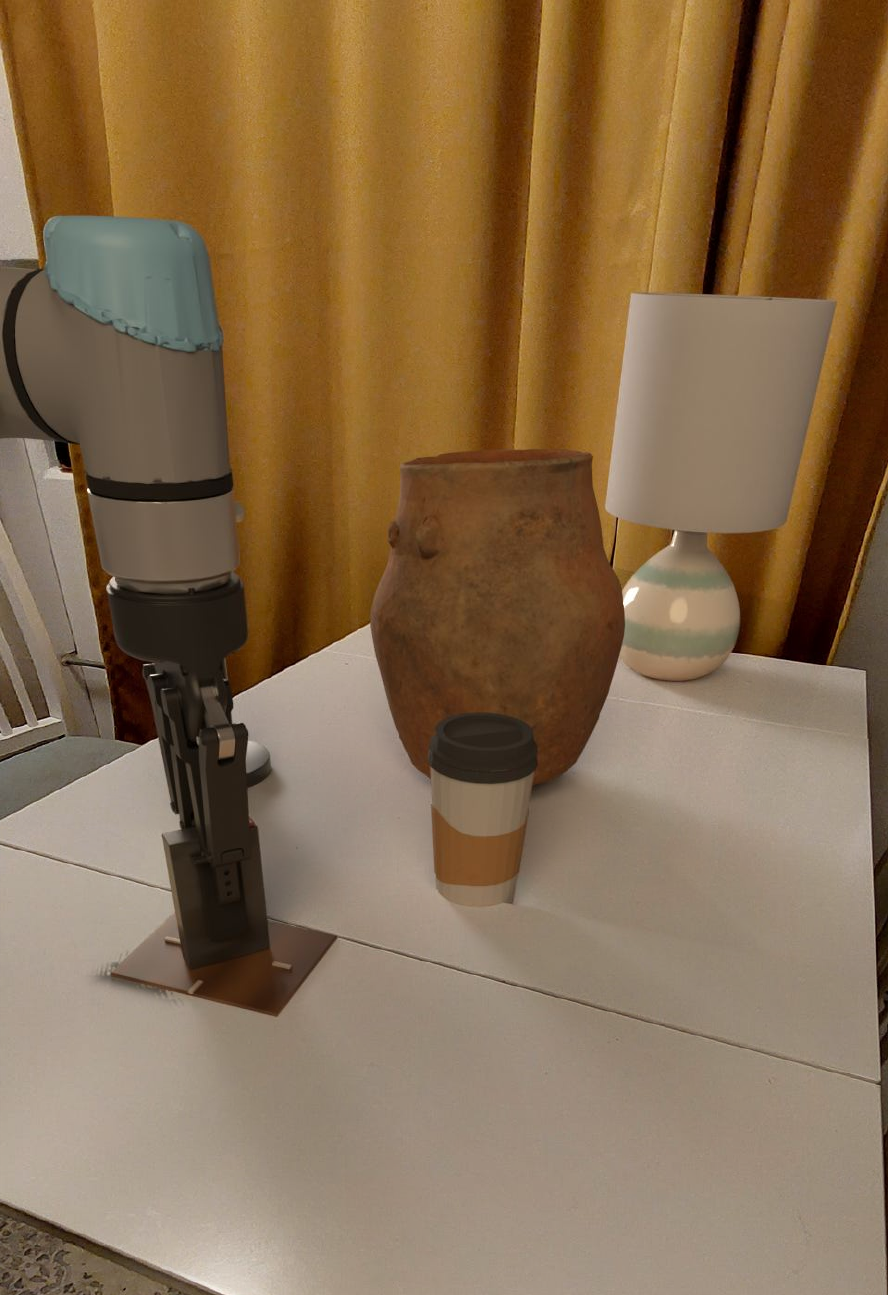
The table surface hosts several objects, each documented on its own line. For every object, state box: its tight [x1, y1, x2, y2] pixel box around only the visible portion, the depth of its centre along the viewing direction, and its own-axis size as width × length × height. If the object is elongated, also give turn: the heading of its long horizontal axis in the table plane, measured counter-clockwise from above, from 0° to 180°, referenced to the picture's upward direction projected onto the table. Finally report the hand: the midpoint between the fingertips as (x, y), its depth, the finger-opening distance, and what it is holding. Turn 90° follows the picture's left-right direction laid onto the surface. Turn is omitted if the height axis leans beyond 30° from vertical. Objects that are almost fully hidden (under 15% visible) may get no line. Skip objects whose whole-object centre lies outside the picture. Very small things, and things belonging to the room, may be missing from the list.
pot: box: [369, 448, 625, 786], centre depth 89 cm, size 24×24×30 cm
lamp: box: [604, 292, 838, 682], centre depth 113 cm, size 22×22×40 cm
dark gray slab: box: [161, 815, 270, 970], centre depth 65 cm, size 6×2×10 cm, turn 119°
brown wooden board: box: [109, 911, 338, 1018], centre depth 69 cm, size 13×10×2 cm
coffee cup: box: [427, 712, 538, 908], centre depth 74 cm, size 8×8×15 cm
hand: (222, 925), depth 67 cm, fingers closed on dark gray slab, 2 cm apart
